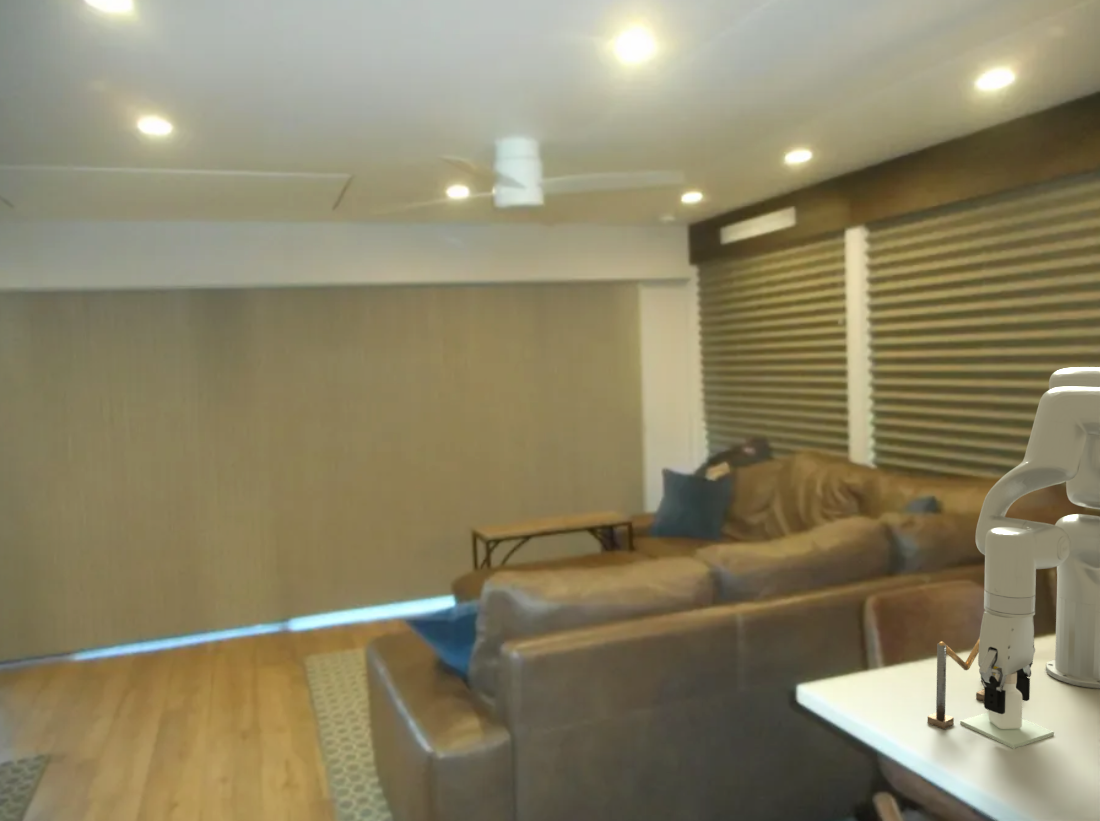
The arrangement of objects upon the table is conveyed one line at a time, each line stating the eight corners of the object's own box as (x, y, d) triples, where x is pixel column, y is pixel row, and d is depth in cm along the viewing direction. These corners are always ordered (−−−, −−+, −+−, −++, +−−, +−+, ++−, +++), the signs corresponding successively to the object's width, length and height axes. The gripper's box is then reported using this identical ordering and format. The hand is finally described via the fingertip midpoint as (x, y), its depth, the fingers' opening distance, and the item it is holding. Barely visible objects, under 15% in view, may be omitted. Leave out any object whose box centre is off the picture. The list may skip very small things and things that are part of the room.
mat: (999, 712, 151) (999, 708, 151) (1053, 735, 142) (1054, 731, 142) (960, 723, 146) (960, 720, 146) (1013, 748, 137) (1013, 744, 137)
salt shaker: (1023, 729, 142) (1024, 674, 142) (999, 730, 142) (1001, 675, 142) (1009, 719, 146) (1011, 665, 146) (986, 720, 146) (988, 666, 146)
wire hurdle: (984, 694, 158) (986, 618, 157) (1000, 700, 156) (1002, 622, 154) (927, 723, 147) (928, 641, 146) (944, 729, 145) (945, 646, 143)
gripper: (1012, 587, 150) (1010, 684, 152) (959, 607, 140) (957, 711, 142) (1057, 597, 144) (1054, 698, 146) (1005, 618, 134) (1003, 727, 136)
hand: (1006, 703), depth 144 cm, fingers open, 7 cm apart
